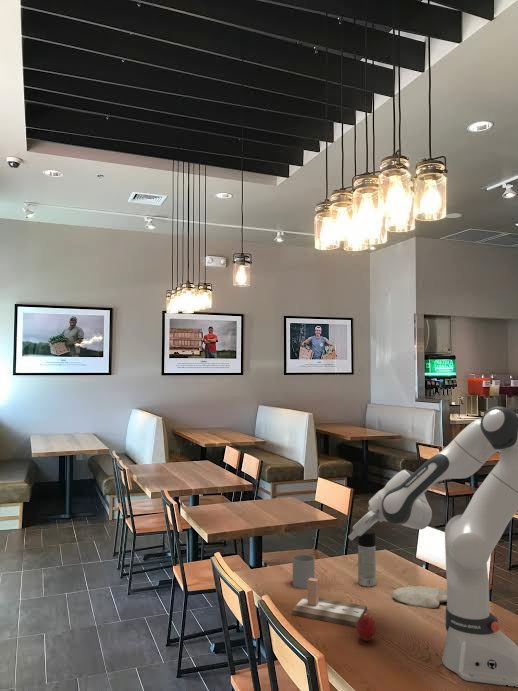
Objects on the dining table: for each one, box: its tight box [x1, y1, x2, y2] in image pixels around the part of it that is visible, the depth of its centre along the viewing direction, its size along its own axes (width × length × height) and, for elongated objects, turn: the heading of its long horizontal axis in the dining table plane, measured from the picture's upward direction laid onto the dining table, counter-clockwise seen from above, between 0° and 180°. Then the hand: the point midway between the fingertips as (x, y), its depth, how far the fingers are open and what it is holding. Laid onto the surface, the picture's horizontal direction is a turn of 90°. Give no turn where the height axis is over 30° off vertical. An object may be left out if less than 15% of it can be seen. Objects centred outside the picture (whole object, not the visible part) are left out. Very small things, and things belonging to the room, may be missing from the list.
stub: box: [307, 578, 319, 605], centre depth 188 cm, size 3×2×8 cm
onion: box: [356, 612, 377, 642], centre depth 165 cm, size 6×6×8 cm
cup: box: [292, 554, 316, 590], centre depth 212 cm, size 8×8×10 cm
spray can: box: [357, 529, 377, 588], centre depth 213 cm, size 7×7×20 cm
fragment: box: [391, 585, 447, 609], centre depth 196 cm, size 15×20×5 cm
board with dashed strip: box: [291, 595, 368, 628], centre depth 185 cm, size 22×14×2 cm, turn 66°
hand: (354, 534), depth 185 cm, fingers open, 8 cm apart
